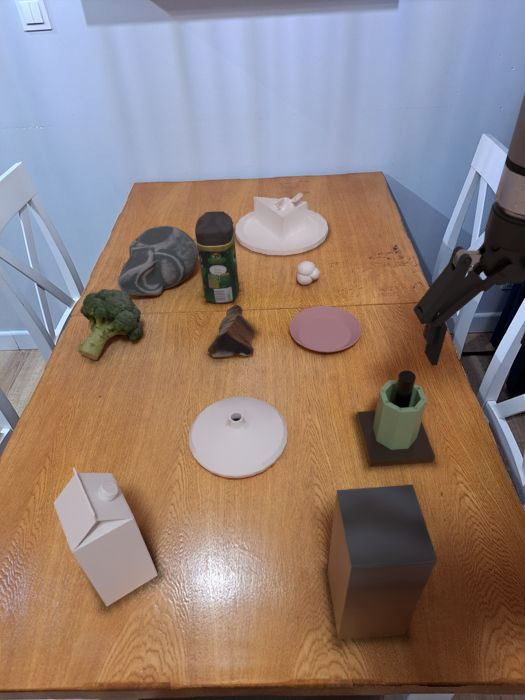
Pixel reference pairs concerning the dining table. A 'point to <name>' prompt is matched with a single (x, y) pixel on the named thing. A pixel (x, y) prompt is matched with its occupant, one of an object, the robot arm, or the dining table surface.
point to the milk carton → (104, 535)
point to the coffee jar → (217, 257)
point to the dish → (281, 227)
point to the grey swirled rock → (158, 261)
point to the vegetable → (109, 319)
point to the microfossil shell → (307, 272)
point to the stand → (378, 560)
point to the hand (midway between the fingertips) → (479, 353)
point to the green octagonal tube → (398, 417)
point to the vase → (238, 437)
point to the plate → (325, 329)
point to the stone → (233, 336)
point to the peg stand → (382, 454)
